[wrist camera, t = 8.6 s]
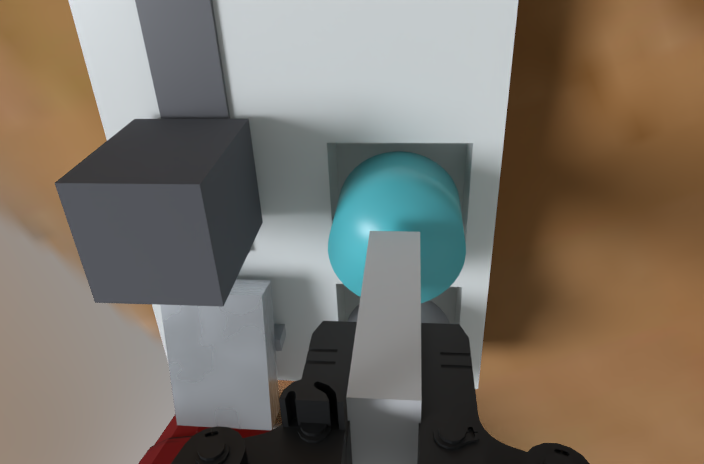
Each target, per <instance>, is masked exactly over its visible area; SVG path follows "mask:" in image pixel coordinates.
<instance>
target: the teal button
mask: <svg viewBox="0 0 704 464" xmlns="http://www.w3.org/2000/svg"><path fill="white" fill-rule="evenodd" d="M370 231H407V232H420V266H421V303H424V302H426V301H429V300H431V299H433V298H435V297H437V296H439V295H440V294H442V293H443V292H444V291H446V290H447V289H448V288H449V287H450V286H451V285H452V284H453V283H454V282H455V280H456V279H457V277H458V276H459V274H460V272H461V270H462V268H463V265H464V262H465V256H466V243H465V236H464V228H463V221H462V213H461V206H460V199H459V193H458V190H457V187H456V185H455V183H454V181H453V179H452V178H451V177H450V175H449V174H448V173H447V172H446V171H445V169H444V168H442V167H441V166H440V165H439V164H438V163H436V162H434V161H433V160H431V159H429V158H427V157H425V156H422V155H419V154H416V153H411V152H403V151H395V152H386V153H382V154H378V155H375V156H373V157H371V158H368V159H367V160H365V161H363V162H362V163H360V164H359V165H358V166H357V167H355V168H354V169H353V171H352V172H351V173H350V174H349V175H348V177H347V178H346V180H345V182H344V184H343V186H342V189H341V192H340V195H339V199H338V203H337V207H336V211H335V215H334V219H333V223H332V226H331V230H330V234H329V240H328V255H329V260H330V263H331V266H332V268H333V270H334V272H335V274H336V275H337V277H338V278H339V280H340V281H341V282H342V283H343V284H344V285H345V286H346V287H347V288H348V289H349V290H350V291H352V292H353V293H355V294H356V295H358V296H360V297H361V290H362V283H363V276H364V269H365V261H366V254H367V247H368V240H369V233H370Z"/></svg>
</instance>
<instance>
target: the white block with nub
mask: <svg viewBox="0 0 704 464" xmlns="http://www.w3.org/2000/svg"><path fill="white" fill-rule="evenodd" d="M160 306H161V313H162V321H163V328H164V335H165V342H166V349H167V357H168V364H169V371H170V378H171V385H172V393H173V400H174V407H175V414H176V421H177V425H182V426H200V427H216V426H220V427H229V428H236V429H255V430H272V429H273V426H274V424H275V421H276V418H277V415H278V413H279V410H280V405H279V391H278V376H277V362H276V347H275V332H274V318H273V303H272V289H271V280H236V281H235V283H234V285H233V287H232V289H231V292H230V294H229V296H228V298H227V300H226V302H225V304H224V307H220V306H189V305H160Z"/></svg>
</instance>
